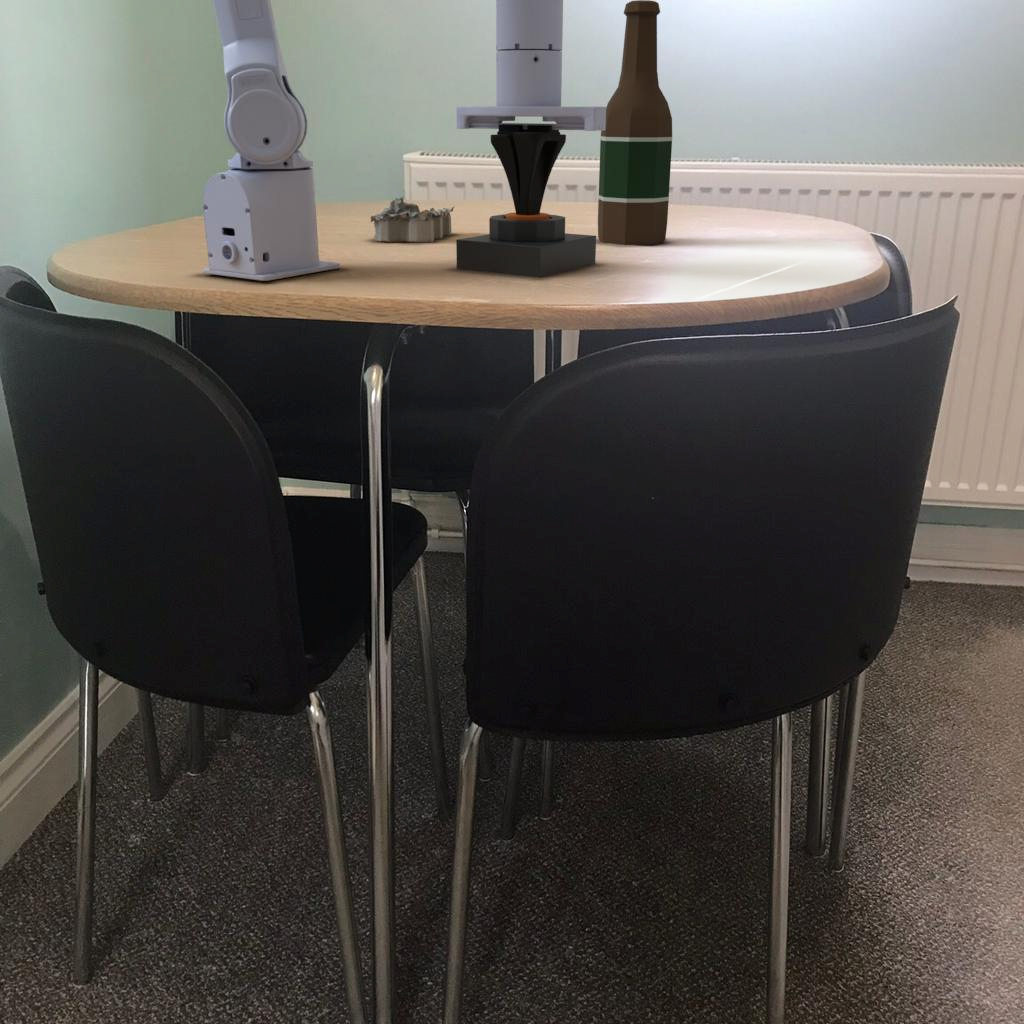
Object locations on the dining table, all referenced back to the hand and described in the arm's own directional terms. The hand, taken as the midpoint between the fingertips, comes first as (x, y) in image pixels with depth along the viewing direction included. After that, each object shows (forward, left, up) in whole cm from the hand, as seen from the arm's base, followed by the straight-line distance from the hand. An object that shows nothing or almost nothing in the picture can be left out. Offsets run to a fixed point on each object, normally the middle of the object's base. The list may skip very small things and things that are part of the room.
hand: (527, 214), depth 93 cm
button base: (0, 0, -5) cm, 5 cm away
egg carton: (+12, +23, -5) cm, 26 cm away
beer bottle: (+23, +1, -5) cm, 24 cm away
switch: (0, 0, -2) cm, 2 cm away
